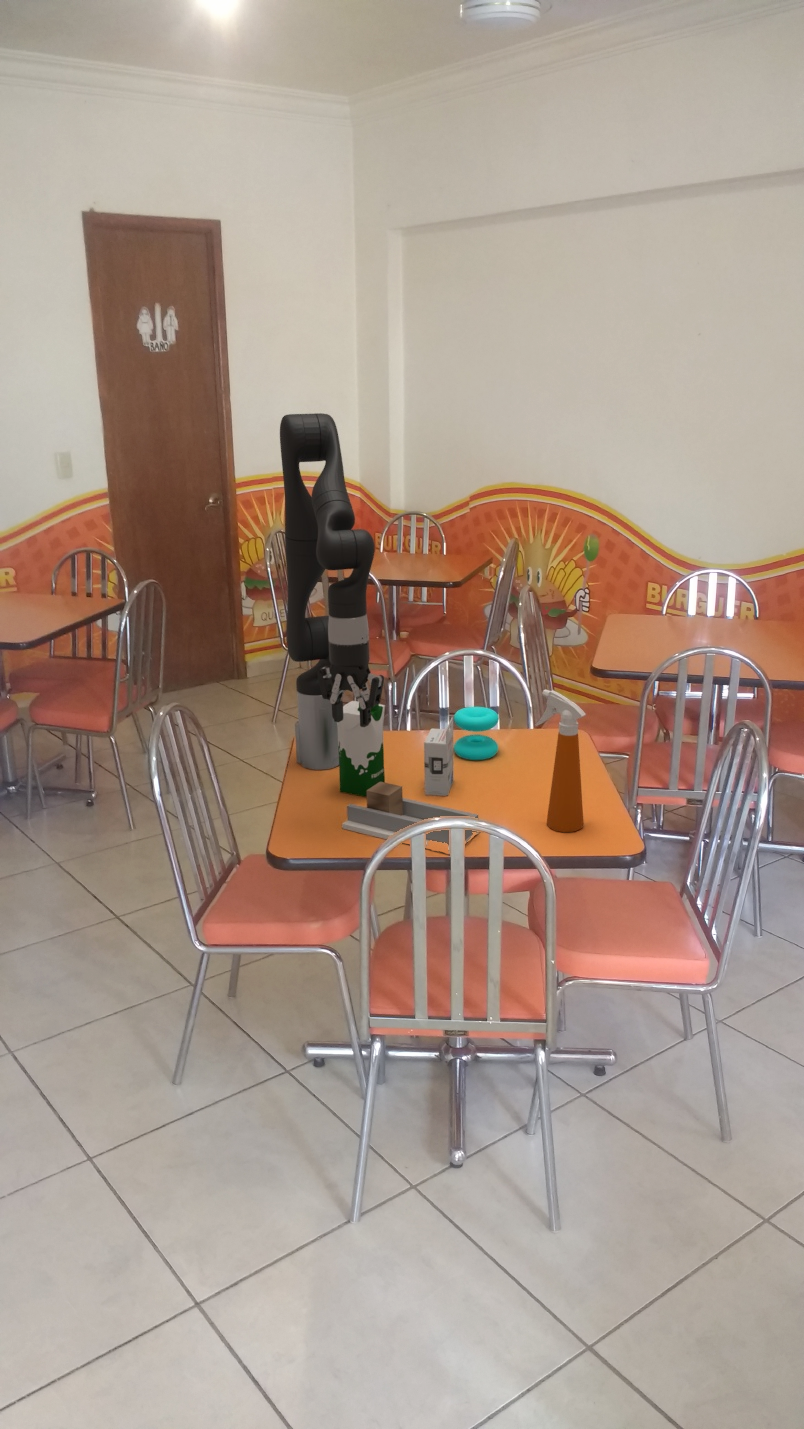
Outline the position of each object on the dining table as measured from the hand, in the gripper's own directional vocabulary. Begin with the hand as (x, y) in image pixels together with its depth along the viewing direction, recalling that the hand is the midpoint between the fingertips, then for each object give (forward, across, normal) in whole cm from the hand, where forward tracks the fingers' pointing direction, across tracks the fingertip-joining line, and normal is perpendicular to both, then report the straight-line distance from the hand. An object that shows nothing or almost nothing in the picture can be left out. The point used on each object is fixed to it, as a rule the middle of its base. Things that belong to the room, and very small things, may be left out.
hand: (351, 723), depth 198 cm
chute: (+19, +13, 0) cm, 23 cm away
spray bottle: (+20, +36, +16) cm, 44 cm away
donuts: (+20, +6, +41) cm, 46 cm away
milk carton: (+20, -6, +12) cm, 24 cm away
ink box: (+20, +8, +20) cm, 29 cm away
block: (+18, +7, 0) cm, 19 cm away
